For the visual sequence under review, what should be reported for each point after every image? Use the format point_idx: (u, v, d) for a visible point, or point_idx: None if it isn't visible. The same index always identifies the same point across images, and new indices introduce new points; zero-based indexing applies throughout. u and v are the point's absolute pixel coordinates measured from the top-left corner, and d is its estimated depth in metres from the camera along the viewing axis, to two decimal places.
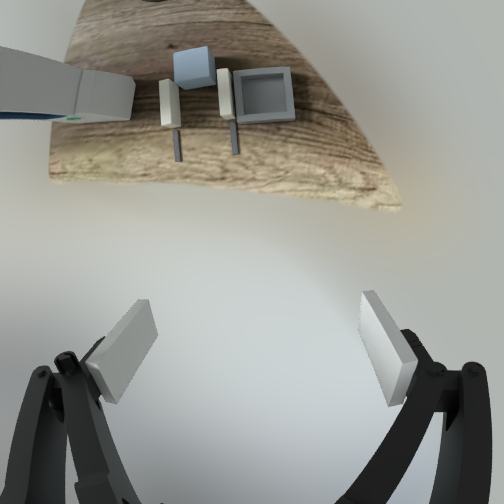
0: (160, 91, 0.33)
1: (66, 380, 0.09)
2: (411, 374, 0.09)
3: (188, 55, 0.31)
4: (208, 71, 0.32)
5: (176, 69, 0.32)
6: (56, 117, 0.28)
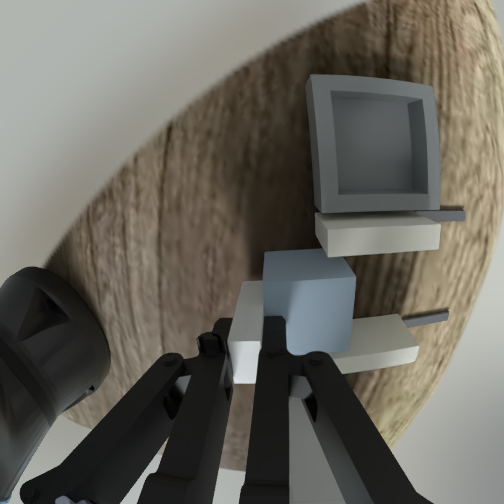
0: (347, 371, 0.17)
1: (202, 361, 0.11)
2: (258, 354, 0.12)
3: None
4: (341, 278, 0.14)
5: (316, 349, 0.16)
6: None
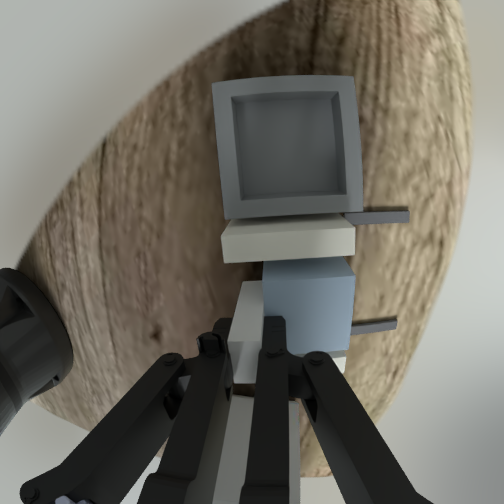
0: None
1: (203, 361, 0.11)
2: (258, 354, 0.12)
3: None
4: (341, 277, 0.14)
5: (315, 348, 0.16)
6: None
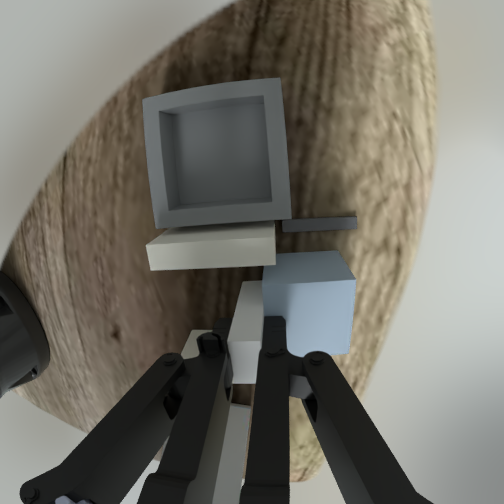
0: None
1: (202, 361, 0.11)
2: (258, 353, 0.12)
3: None
4: (341, 281, 0.14)
5: None
6: None
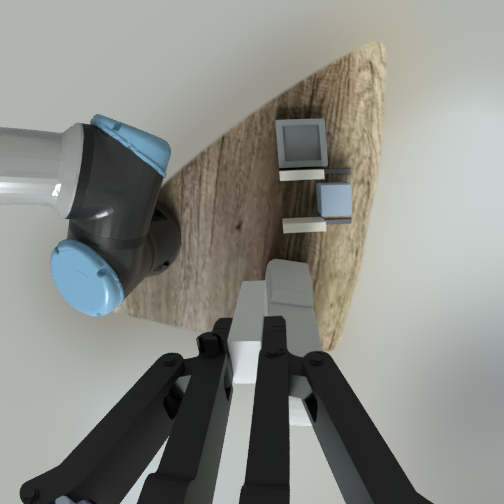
0: (294, 231, 0.45)
1: (202, 361, 0.11)
2: (259, 354, 0.12)
3: (327, 202, 0.43)
4: (346, 185, 0.42)
5: (339, 213, 0.43)
6: None
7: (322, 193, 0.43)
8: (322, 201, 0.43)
